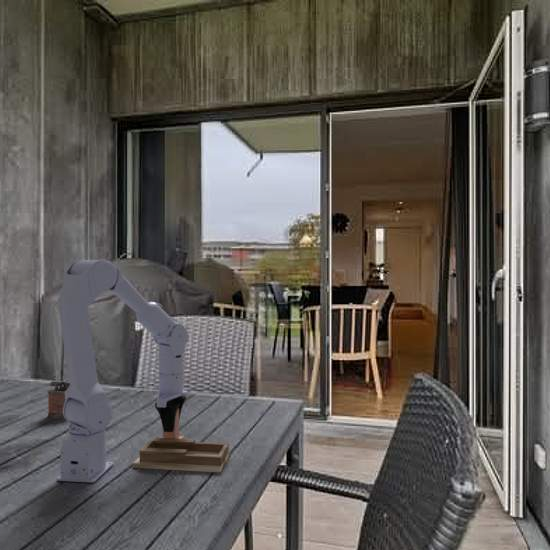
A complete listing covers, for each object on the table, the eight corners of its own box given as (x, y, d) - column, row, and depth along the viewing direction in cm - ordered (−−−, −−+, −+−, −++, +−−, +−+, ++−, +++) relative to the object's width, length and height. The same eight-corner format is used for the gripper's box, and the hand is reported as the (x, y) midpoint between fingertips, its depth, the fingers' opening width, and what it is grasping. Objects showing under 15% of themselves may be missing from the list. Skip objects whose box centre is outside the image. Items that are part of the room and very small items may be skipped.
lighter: (79, 414, 147) (79, 379, 146) (75, 417, 143) (74, 382, 143) (50, 414, 147) (50, 379, 146) (45, 418, 143) (45, 382, 143)
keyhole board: (220, 472, 107) (220, 456, 107) (132, 467, 109) (132, 451, 109) (230, 454, 117) (230, 439, 117) (149, 450, 119) (149, 435, 119)
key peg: (177, 447, 121) (177, 413, 121) (157, 446, 122) (157, 412, 121) (184, 440, 126) (184, 407, 126) (164, 439, 127) (164, 406, 126)
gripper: (178, 380, 116) (178, 440, 116) (195, 367, 130) (195, 420, 130) (147, 379, 116) (147, 438, 117) (168, 366, 131) (168, 419, 131)
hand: (171, 429), depth 124 cm, fingers closed on key peg, 3 cm apart
